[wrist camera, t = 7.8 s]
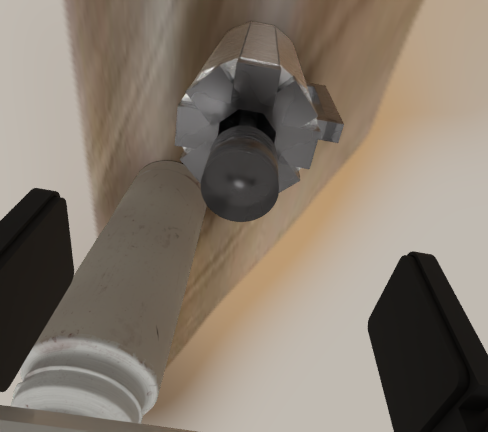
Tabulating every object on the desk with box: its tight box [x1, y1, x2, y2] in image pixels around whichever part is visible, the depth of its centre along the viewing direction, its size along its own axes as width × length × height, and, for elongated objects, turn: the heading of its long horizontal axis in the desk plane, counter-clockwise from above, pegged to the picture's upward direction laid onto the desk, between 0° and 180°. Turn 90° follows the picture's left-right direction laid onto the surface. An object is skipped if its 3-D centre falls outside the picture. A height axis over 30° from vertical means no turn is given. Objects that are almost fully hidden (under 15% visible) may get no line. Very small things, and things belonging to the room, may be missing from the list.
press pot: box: [175, 21, 344, 193], centre depth 27 cm, size 8×9×16 cm
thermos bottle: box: [11, 161, 207, 424], centre depth 29 cm, size 8×8×28 cm
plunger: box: [200, 110, 279, 222], centre depth 23 cm, size 5×5×18 cm
